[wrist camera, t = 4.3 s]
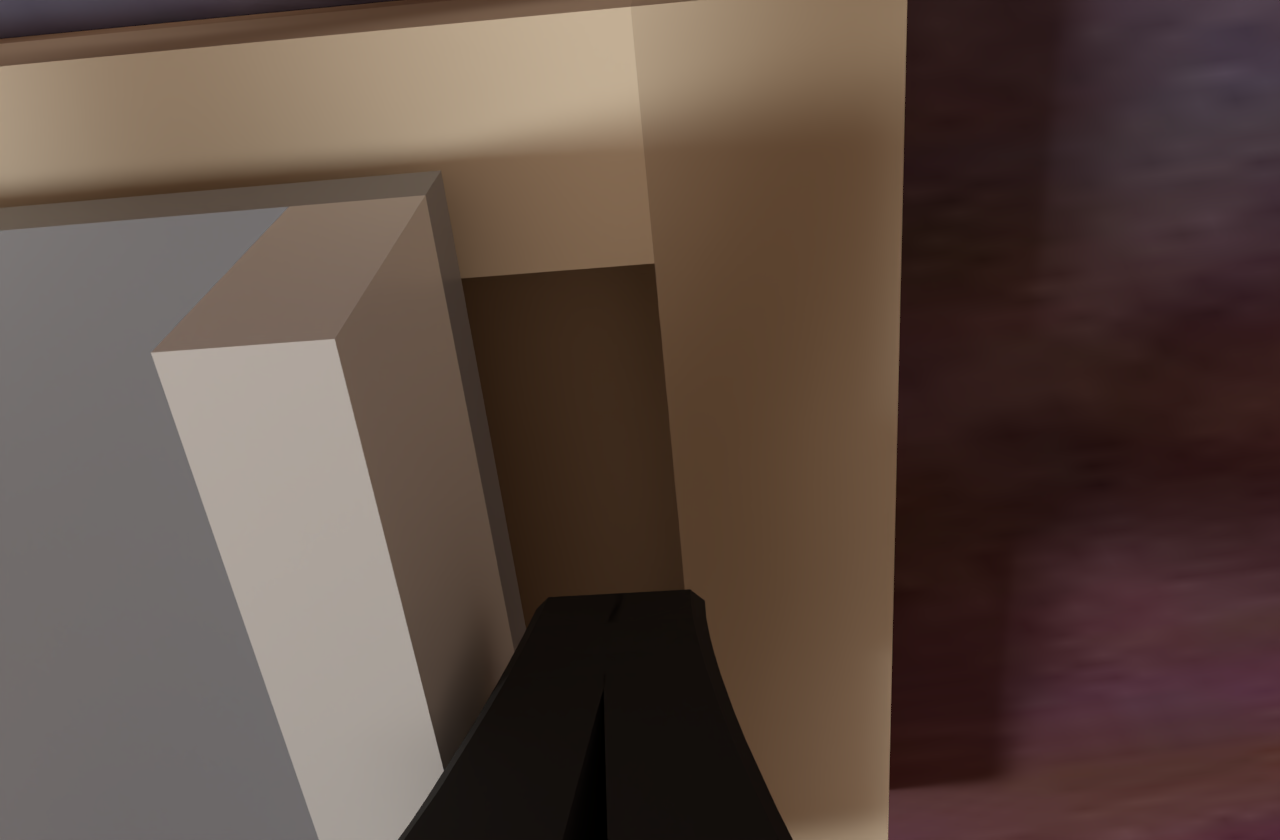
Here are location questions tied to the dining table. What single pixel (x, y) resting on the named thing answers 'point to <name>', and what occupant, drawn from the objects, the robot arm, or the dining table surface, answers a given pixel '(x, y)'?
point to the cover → (242, 514)
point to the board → (602, 290)
